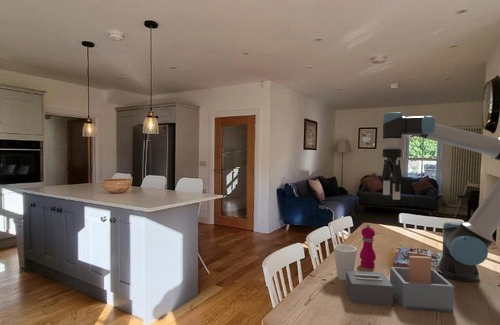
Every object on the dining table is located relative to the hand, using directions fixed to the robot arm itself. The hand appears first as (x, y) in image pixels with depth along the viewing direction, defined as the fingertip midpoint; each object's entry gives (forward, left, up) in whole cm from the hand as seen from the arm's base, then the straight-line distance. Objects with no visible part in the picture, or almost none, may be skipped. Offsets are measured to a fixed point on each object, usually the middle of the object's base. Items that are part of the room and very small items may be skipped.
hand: (391, 197), depth 131 cm
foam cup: (+20, +6, -35) cm, 41 cm away
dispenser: (+14, +22, -35) cm, 43 cm away
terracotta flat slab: (-4, +22, -34) cm, 40 cm away
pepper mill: (+7, -10, -35) cm, 37 cm away
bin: (-4, +22, -35) cm, 41 cm away
